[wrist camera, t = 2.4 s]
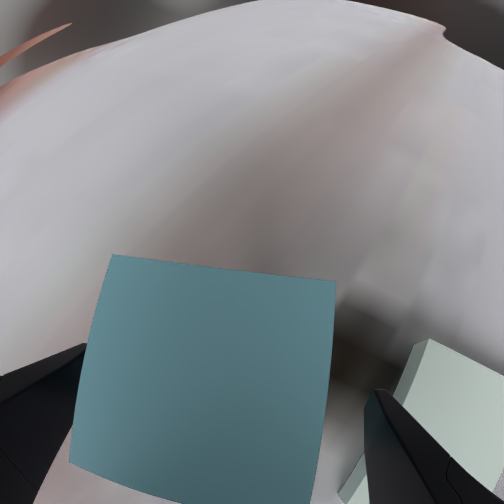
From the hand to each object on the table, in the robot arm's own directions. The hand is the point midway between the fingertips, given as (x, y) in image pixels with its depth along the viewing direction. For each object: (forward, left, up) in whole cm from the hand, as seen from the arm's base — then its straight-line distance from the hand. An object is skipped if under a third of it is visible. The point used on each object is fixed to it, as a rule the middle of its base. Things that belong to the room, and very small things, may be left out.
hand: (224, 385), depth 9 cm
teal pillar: (0, 0, -8) cm, 8 cm away
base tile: (+7, -11, -8) cm, 15 cm away
